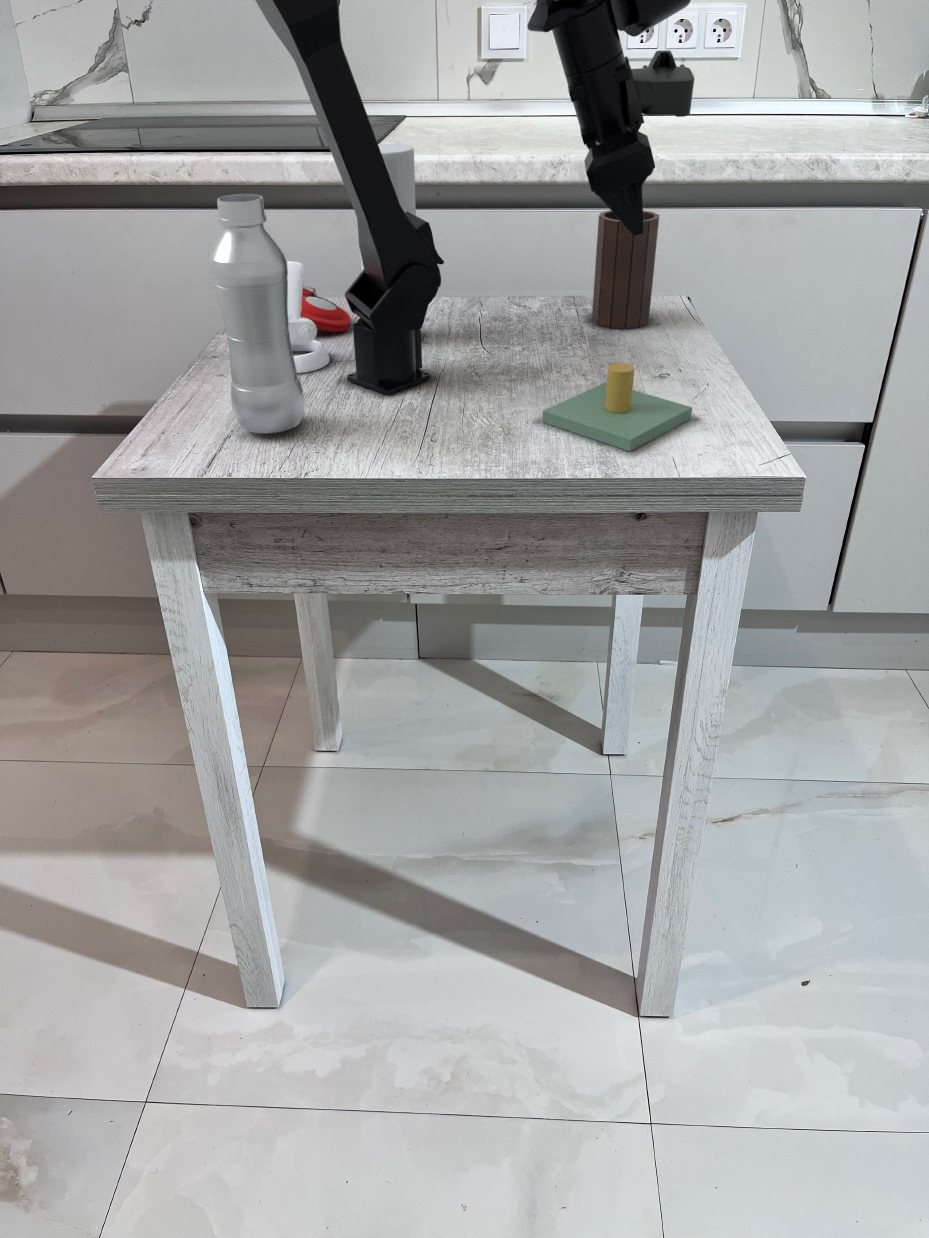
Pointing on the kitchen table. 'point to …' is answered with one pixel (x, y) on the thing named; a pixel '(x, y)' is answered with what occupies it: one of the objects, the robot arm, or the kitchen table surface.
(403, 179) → the spray can
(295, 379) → the plastic bottle
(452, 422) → the kitchen table surface
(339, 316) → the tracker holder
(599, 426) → the peg stand
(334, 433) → the kitchen table surface
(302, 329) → the white upright ring-based piece
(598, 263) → the sleeve
